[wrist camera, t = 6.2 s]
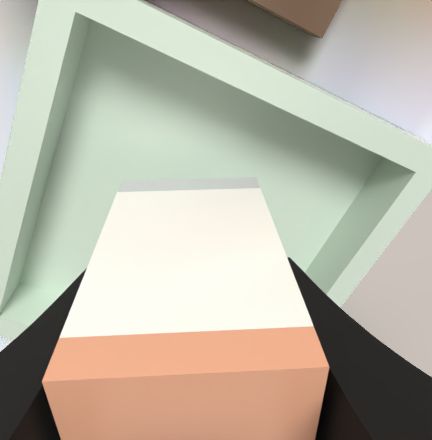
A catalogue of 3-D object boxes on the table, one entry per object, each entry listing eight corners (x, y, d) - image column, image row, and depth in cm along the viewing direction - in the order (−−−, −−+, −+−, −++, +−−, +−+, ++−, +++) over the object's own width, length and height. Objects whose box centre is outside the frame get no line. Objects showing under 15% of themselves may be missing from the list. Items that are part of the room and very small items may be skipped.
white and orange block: (256, 177, 12) (329, 367, 5) (250, 283, 14) (300, 511, 7) (121, 180, 11) (42, 381, 5) (135, 287, 13) (89, 526, 7)
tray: (411, 133, 13) (455, 158, 11) (257, 355, 18) (266, 403, 16) (77, -34, 10) (48, -44, 8) (0, 282, 15) (-32, 328, 13)
